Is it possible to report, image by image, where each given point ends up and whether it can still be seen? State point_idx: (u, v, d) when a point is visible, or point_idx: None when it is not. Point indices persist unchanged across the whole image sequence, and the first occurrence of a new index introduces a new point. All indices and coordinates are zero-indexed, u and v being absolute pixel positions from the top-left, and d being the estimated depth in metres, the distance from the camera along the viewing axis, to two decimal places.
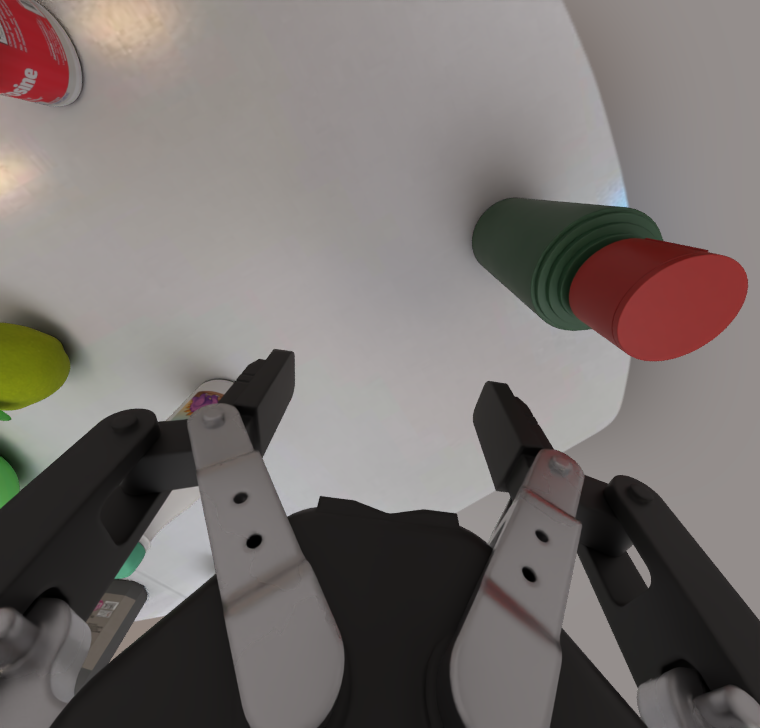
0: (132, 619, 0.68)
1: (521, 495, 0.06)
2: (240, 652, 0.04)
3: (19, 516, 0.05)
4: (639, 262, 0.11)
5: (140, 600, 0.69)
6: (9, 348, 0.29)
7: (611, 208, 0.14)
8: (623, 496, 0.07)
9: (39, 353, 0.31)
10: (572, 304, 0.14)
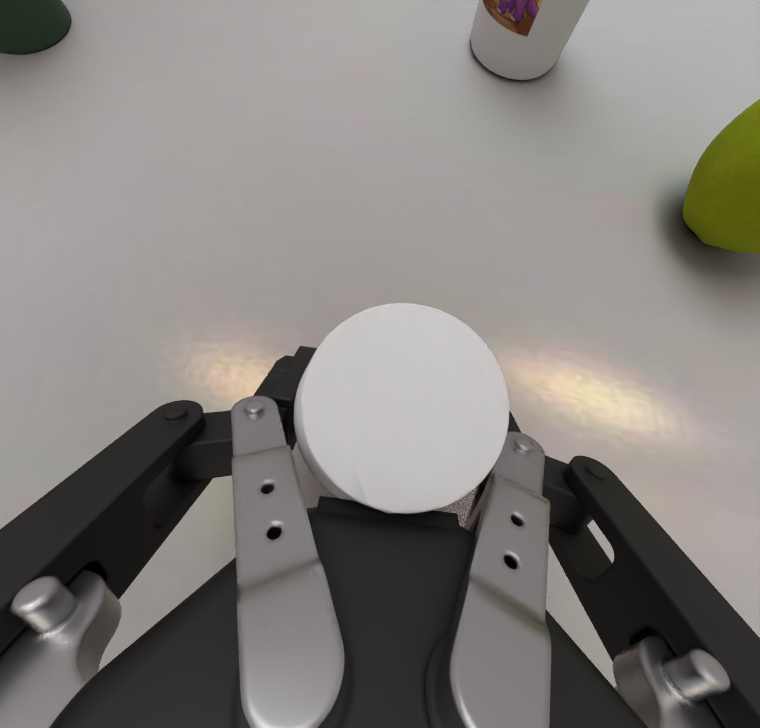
0: None
1: (493, 483, 0.07)
2: (246, 639, 0.04)
3: (77, 490, 0.06)
4: None
5: None
6: (755, 160, 0.16)
7: None
8: (580, 474, 0.08)
9: (717, 160, 0.18)
10: None
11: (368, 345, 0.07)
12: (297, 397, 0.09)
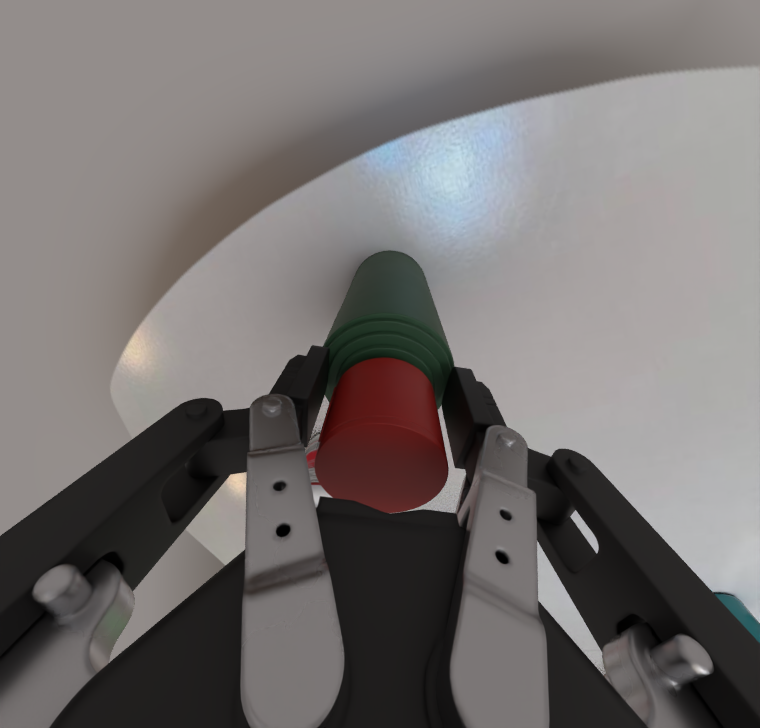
0: None
1: (481, 478, 0.07)
2: (249, 634, 0.04)
3: (100, 481, 0.06)
4: None
5: None
6: None
7: None
8: (561, 466, 0.08)
9: None
10: None
11: None
12: None
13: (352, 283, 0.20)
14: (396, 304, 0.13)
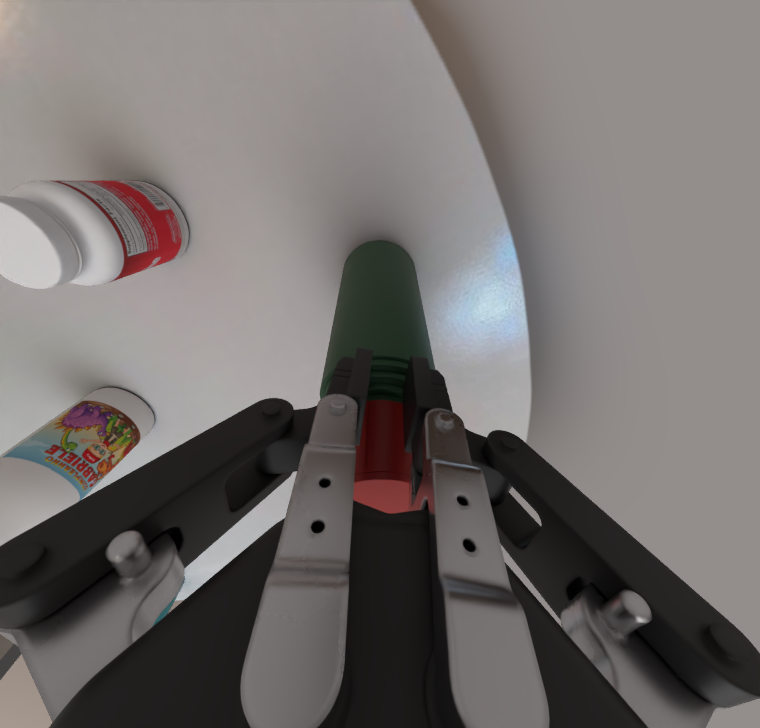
0: None
1: (433, 470, 0.07)
2: (263, 616, 0.04)
3: (181, 459, 0.07)
4: None
5: None
6: None
7: None
8: (493, 446, 0.08)
9: None
10: None
11: (43, 261, 0.16)
12: (95, 223, 0.17)
13: (379, 270, 0.20)
14: (432, 363, 0.16)
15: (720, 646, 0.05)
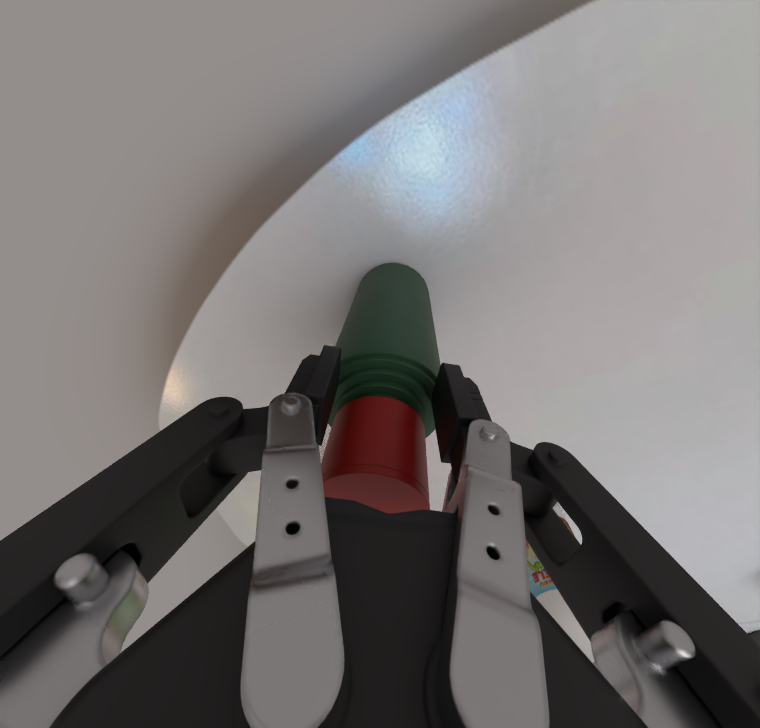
0: None
1: (468, 475, 0.07)
2: (252, 628, 0.04)
3: (124, 473, 0.06)
4: None
5: None
6: None
7: None
8: (542, 459, 0.08)
9: None
10: None
11: None
12: None
13: None
14: (345, 347, 0.14)
15: None
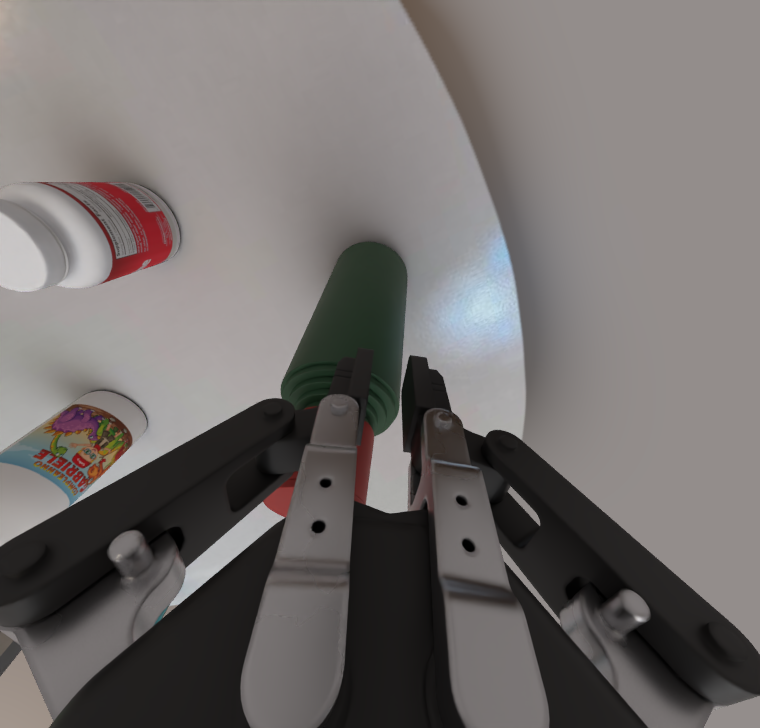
0: None
1: (432, 470, 0.07)
2: (264, 615, 0.04)
3: (183, 459, 0.07)
4: None
5: None
6: None
7: (295, 369, 0.14)
8: (491, 445, 0.08)
9: None
10: None
11: (28, 263, 0.16)
12: (82, 225, 0.17)
13: (356, 272, 0.20)
14: (390, 368, 0.15)
15: (718, 645, 0.05)
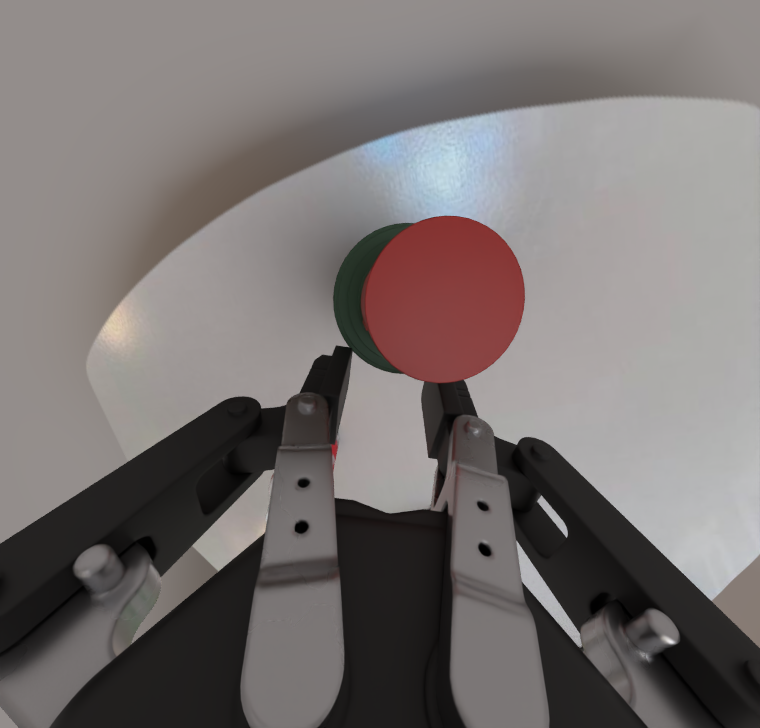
0: None
1: (456, 472, 0.07)
2: (256, 623, 0.04)
3: (145, 467, 0.06)
4: None
5: None
6: None
7: (347, 343, 0.13)
8: (524, 453, 0.08)
9: None
10: None
11: None
12: None
13: None
14: None
15: (758, 683, 0.05)
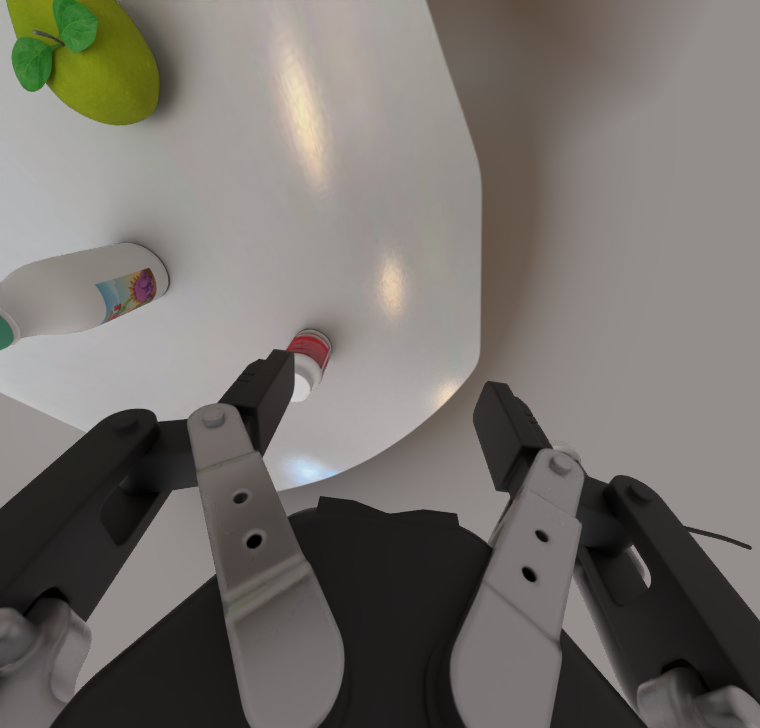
0: None
1: (521, 495, 0.06)
2: (240, 652, 0.04)
3: (19, 516, 0.05)
4: None
5: None
6: (134, 107, 0.27)
7: None
8: (623, 496, 0.07)
9: (134, 119, 0.29)
10: None
11: None
12: None
13: None
14: None
15: None
